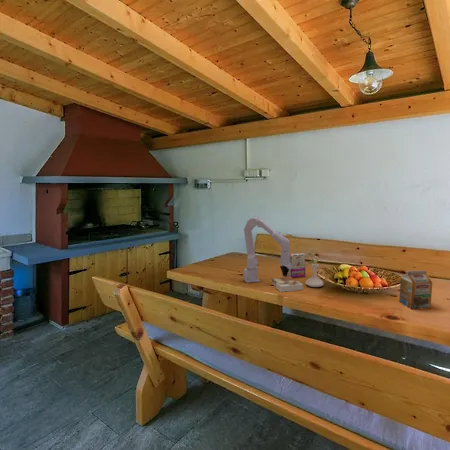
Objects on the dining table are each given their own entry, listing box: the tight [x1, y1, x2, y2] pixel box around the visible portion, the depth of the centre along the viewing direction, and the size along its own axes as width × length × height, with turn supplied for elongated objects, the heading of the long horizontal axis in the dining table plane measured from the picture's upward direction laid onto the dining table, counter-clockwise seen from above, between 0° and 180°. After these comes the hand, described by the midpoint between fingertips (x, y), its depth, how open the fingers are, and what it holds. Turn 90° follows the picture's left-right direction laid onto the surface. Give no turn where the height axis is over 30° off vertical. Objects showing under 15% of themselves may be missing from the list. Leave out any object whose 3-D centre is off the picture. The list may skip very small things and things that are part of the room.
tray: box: [275, 280, 304, 293], centre depth 202 cm, size 15×8×4 cm, turn 104°
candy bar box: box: [287, 252, 306, 279], centre depth 228 cm, size 11×5×16 cm, turn 104°
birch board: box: [271, 277, 296, 287], centre depth 212 cm, size 12×10×3 cm
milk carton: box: [398, 270, 433, 310], centre depth 172 cm, size 11×11×19 cm
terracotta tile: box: [281, 274, 293, 281], centre depth 212 cm, size 4×4×2 cm
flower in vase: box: [304, 247, 324, 288], centre depth 207 cm, size 13×11×25 cm
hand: (284, 276), depth 215 cm, fingers closed
